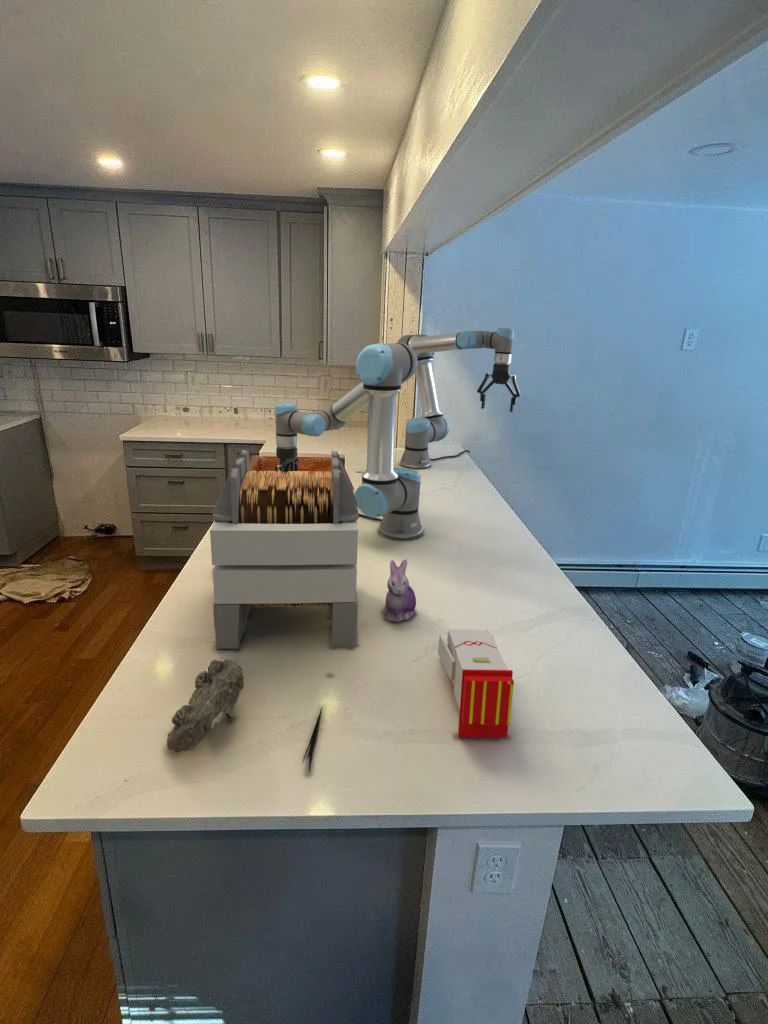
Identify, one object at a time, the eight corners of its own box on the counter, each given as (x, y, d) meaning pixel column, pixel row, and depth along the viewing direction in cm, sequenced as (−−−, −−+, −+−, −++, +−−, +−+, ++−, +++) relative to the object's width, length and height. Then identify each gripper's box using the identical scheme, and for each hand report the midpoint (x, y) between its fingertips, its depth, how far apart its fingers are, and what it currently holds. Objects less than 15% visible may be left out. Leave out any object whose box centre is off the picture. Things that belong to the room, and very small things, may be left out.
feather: (331, 679, 122) (336, 673, 122) (307, 777, 96) (313, 769, 95) (324, 675, 122) (329, 669, 121) (298, 772, 95) (304, 764, 95)
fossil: (192, 660, 117) (244, 628, 112) (224, 691, 120) (276, 661, 115) (142, 746, 98) (202, 712, 93) (182, 779, 101) (242, 748, 96)
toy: (488, 613, 130) (523, 677, 101) (484, 667, 133) (517, 744, 104) (435, 612, 130) (455, 676, 101) (432, 666, 133) (451, 743, 103)
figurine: (392, 627, 141) (395, 572, 136) (374, 608, 149) (376, 556, 144) (425, 619, 145) (429, 566, 140) (405, 601, 154) (408, 550, 149)
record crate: (234, 582, 160) (226, 440, 146) (350, 581, 163) (353, 443, 150) (213, 651, 128) (201, 478, 114) (357, 647, 132) (363, 480, 118)
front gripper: (290, 439, 216) (291, 496, 223) (262, 451, 197) (264, 512, 205) (308, 441, 213) (308, 499, 221) (282, 453, 195) (283, 515, 202)
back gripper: (473, 361, 260) (468, 408, 267) (527, 366, 250) (521, 414, 257) (478, 360, 266) (473, 406, 273) (531, 365, 256) (525, 411, 264)
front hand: (287, 505), depth 213 cm, fingers open, 8 cm apart
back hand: (496, 410), depth 265 cm, fingers open, 13 cm apart
